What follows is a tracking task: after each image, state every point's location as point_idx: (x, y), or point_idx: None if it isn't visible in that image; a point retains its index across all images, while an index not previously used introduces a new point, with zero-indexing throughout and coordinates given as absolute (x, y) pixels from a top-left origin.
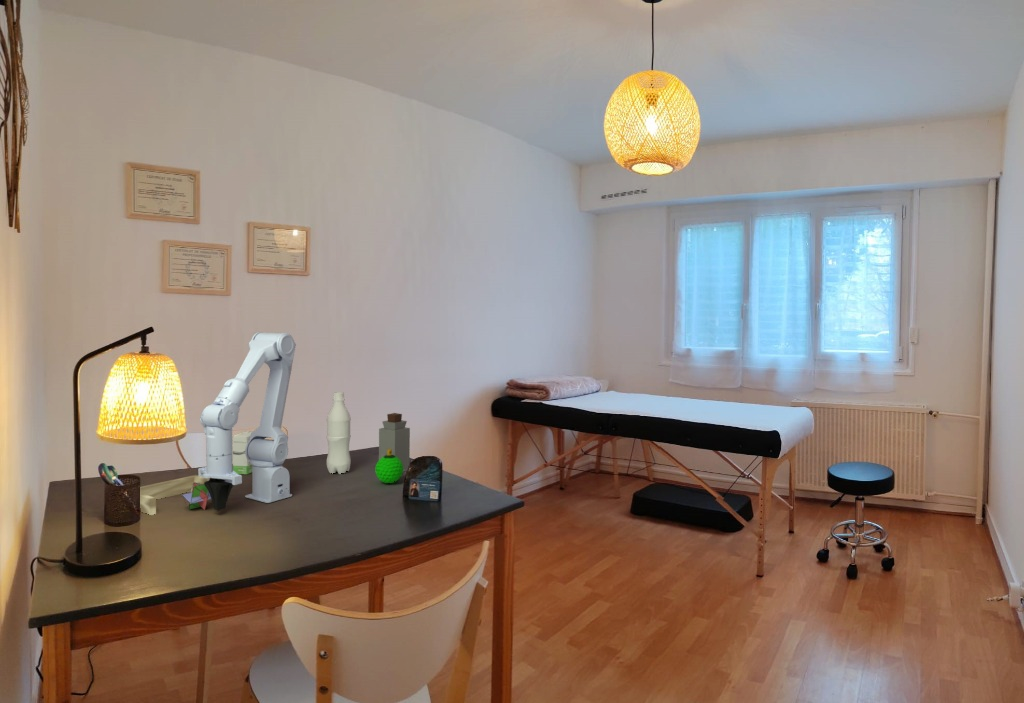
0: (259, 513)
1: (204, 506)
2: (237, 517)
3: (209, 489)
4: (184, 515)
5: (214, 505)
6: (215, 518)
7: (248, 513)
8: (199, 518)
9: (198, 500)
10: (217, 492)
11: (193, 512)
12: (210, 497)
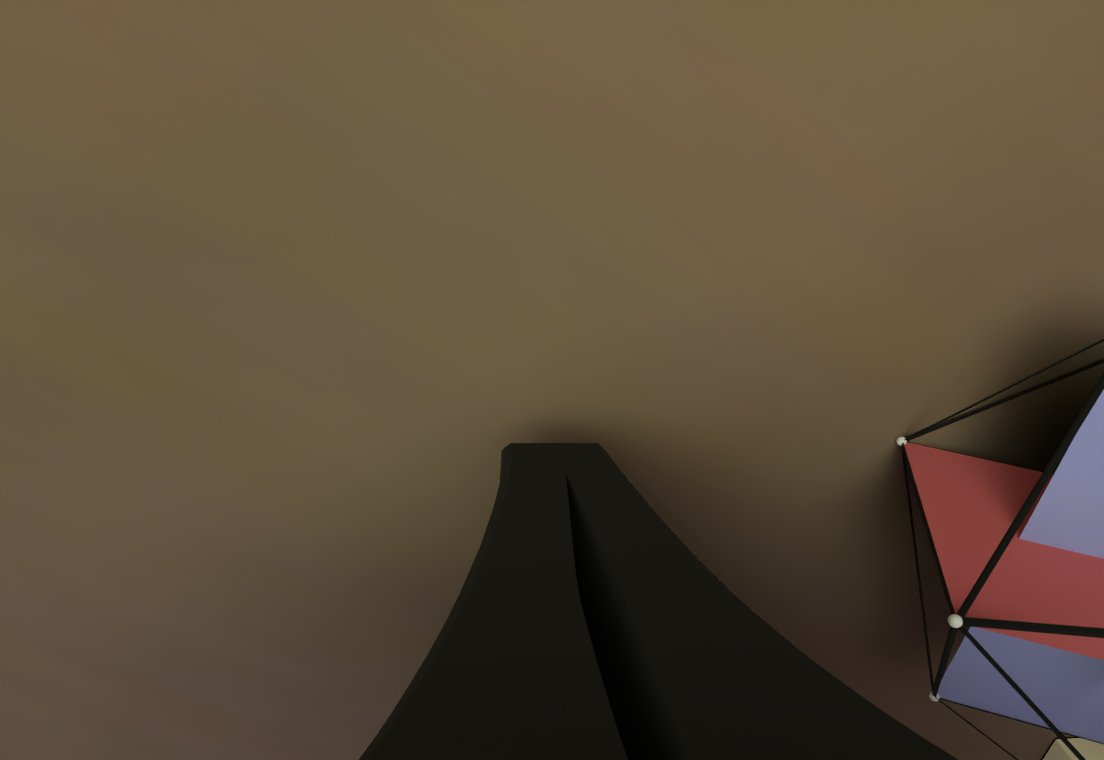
0: (158, 714)
1: (940, 475)
2: (213, 507)
3: (782, 743)
4: (1039, 135)
5: (583, 478)
6: (443, 315)
7: (270, 654)
8: (677, 172)
9: (1092, 485)
10: (377, 745)
11: (997, 307)
12: (1001, 651)
